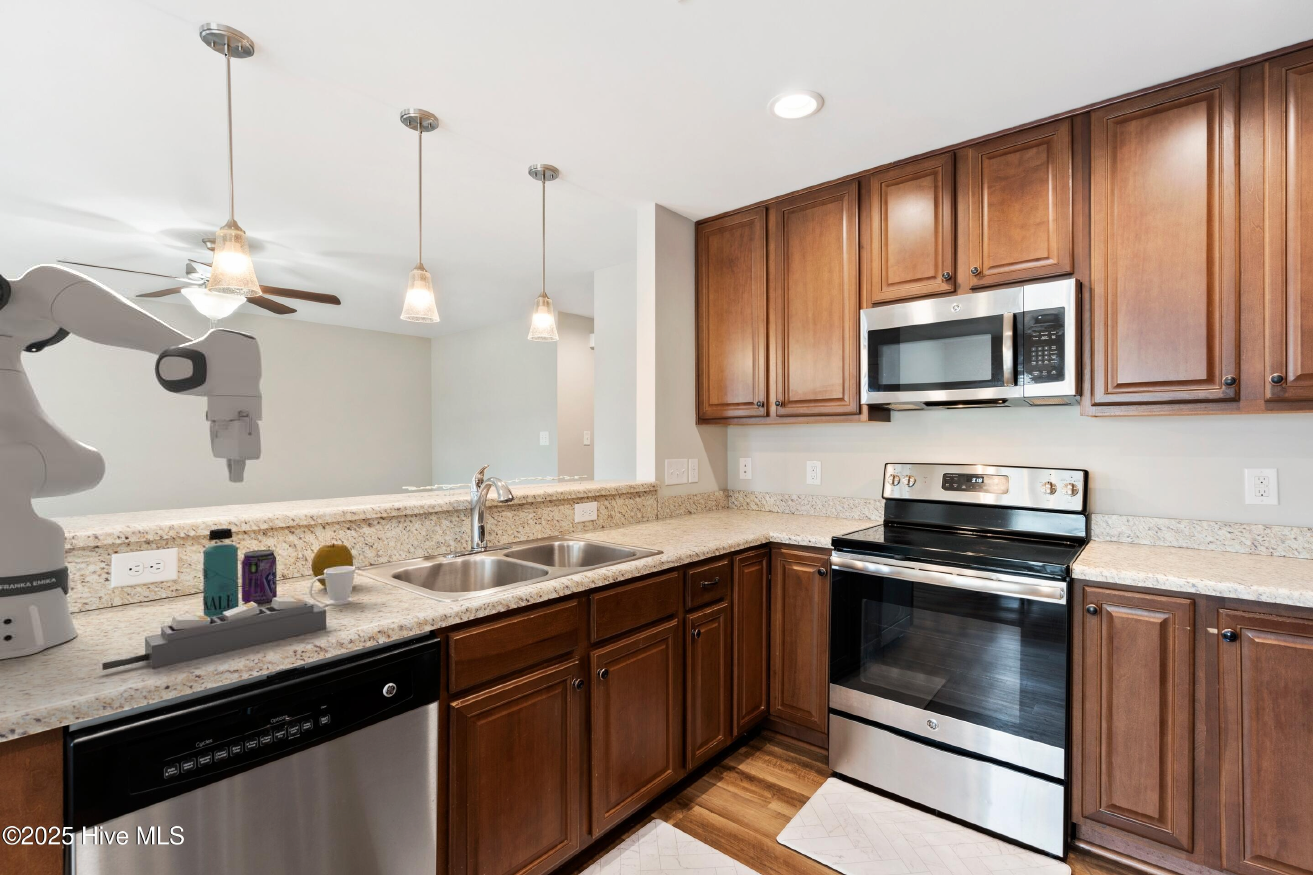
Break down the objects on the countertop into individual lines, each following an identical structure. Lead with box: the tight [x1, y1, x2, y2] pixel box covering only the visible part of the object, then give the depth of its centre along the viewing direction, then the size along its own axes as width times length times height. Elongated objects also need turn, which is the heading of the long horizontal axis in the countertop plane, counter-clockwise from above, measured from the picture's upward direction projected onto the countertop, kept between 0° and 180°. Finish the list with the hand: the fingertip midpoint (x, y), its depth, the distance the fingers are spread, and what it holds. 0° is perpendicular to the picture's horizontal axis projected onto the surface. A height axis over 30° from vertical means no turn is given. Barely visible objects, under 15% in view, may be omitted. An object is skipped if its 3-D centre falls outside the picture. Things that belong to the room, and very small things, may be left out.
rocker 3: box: [270, 597, 307, 609], centre depth 123 cm, size 5×4×2 cm
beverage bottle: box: [202, 527, 240, 618], centre depth 131 cm, size 6×7×20 cm
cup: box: [308, 566, 356, 606], centre depth 143 cm, size 7×10×8 cm
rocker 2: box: [223, 602, 260, 621], centre depth 117 cm, size 5×4×2 cm
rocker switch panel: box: [101, 599, 327, 671], centre depth 115 cm, size 34×7×5 cm, turn 138°
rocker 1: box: [170, 615, 211, 629], centre depth 111 cm, size 5×4×2 cm
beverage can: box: [240, 549, 278, 605], centre depth 146 cm, size 7×7×12 cm
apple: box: [310, 542, 354, 588], centre depth 159 cm, size 10×10×12 cm
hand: (236, 482), depth 119 cm, fingers closed
